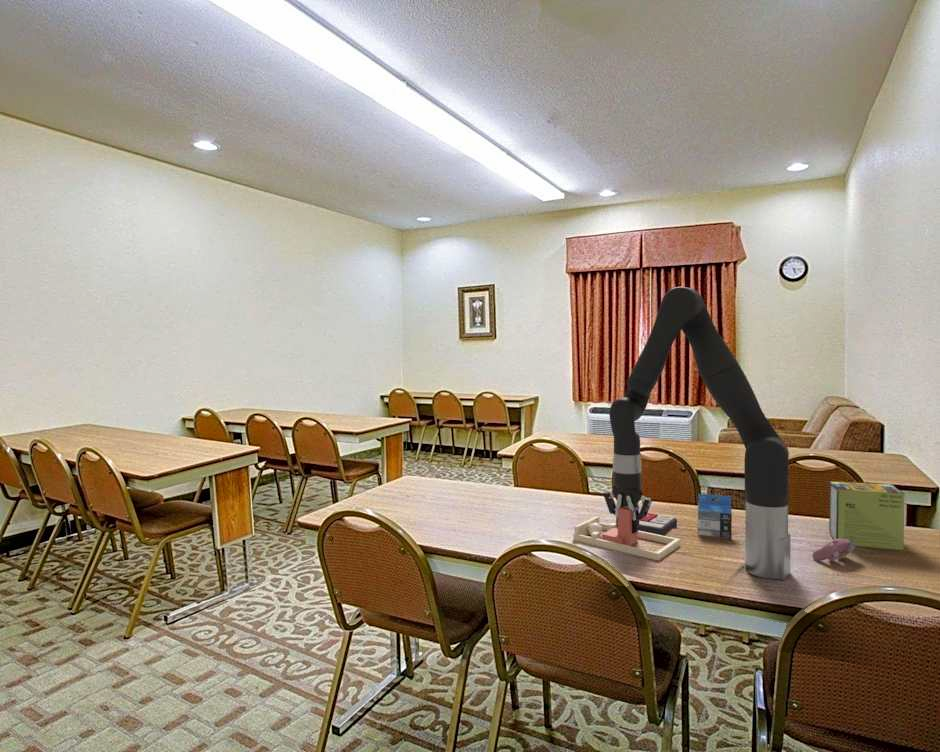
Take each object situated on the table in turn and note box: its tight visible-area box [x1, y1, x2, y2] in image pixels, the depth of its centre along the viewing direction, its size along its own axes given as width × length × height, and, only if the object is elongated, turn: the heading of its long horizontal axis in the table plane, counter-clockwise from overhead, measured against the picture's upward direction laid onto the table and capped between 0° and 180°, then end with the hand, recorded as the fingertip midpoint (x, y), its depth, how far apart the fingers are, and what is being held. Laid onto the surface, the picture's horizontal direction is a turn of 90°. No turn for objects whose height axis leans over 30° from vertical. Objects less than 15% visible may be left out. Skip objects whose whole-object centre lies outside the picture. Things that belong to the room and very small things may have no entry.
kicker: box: [601, 506, 639, 547], centre depth 159 cm, size 8×7×10 cm
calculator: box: [639, 512, 678, 536], centre depth 173 cm, size 11×4×15 cm
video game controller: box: [812, 539, 857, 563], centre depth 146 cm, size 10×5×7 cm, turn 114°
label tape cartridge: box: [697, 493, 733, 541], centre depth 164 cm, size 9×4×12 cm, turn 68°
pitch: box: [572, 515, 681, 561], centre depth 159 cm, size 25×14×5 cm, turn 48°
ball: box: [588, 523, 603, 536], centre depth 165 cm, size 4×4×4 cm
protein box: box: [828, 481, 906, 551], centre depth 159 cm, size 10×15×16 cm
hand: (627, 530), depth 158 cm, fingers closed on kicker, 3 cm apart
